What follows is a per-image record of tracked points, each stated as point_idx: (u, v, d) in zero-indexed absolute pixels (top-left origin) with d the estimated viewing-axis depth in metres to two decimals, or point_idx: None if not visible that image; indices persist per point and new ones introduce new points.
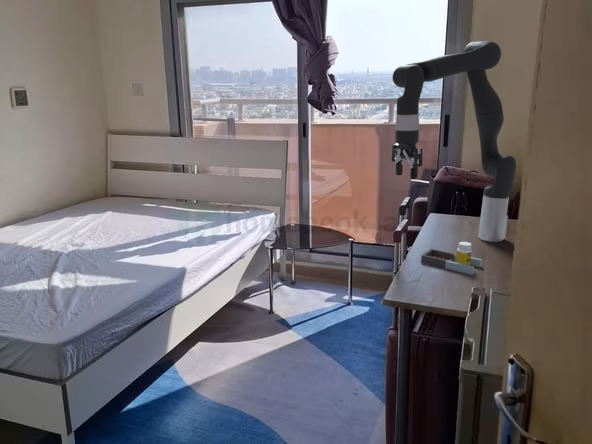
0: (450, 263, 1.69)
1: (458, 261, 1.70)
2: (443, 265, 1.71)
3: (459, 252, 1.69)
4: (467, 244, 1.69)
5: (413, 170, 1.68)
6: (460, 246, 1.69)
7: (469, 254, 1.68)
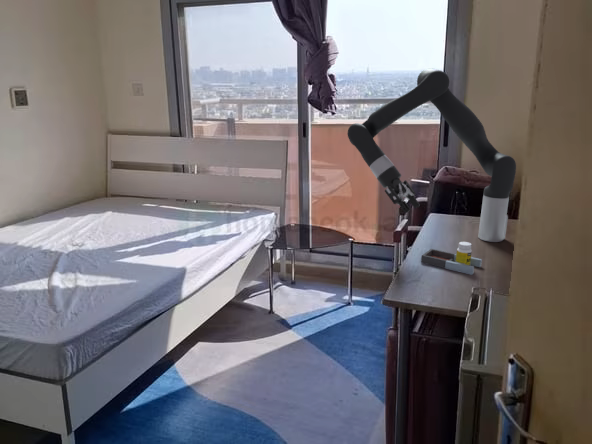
0: (450, 263, 1.69)
1: (458, 261, 1.70)
2: (443, 265, 1.71)
3: (459, 252, 1.69)
4: (467, 244, 1.69)
5: (400, 205, 1.75)
6: (460, 246, 1.69)
7: (469, 254, 1.68)
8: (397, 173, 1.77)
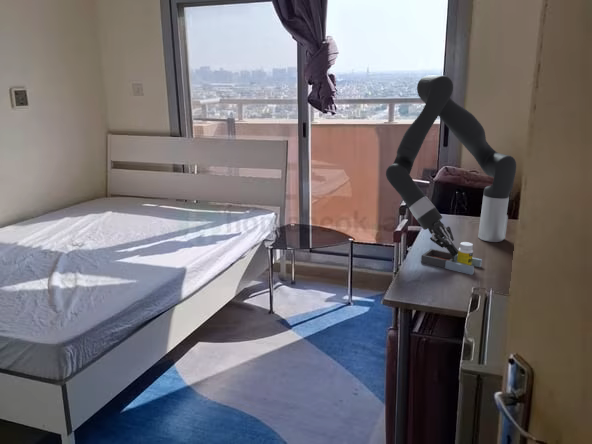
0: (450, 263, 1.69)
1: (460, 261, 1.69)
2: (443, 265, 1.71)
3: (461, 253, 1.68)
4: (468, 244, 1.68)
5: (448, 249, 1.72)
6: (462, 246, 1.68)
7: (471, 255, 1.68)
8: (438, 215, 1.72)
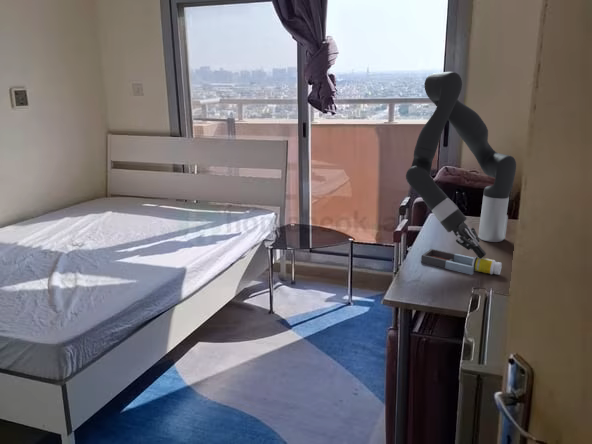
0: (450, 263, 1.69)
1: (479, 264, 1.66)
2: (443, 265, 1.71)
3: (489, 266, 1.64)
4: (499, 271, 1.64)
5: None
6: (496, 267, 1.63)
7: (488, 273, 1.66)
8: (463, 217, 1.67)
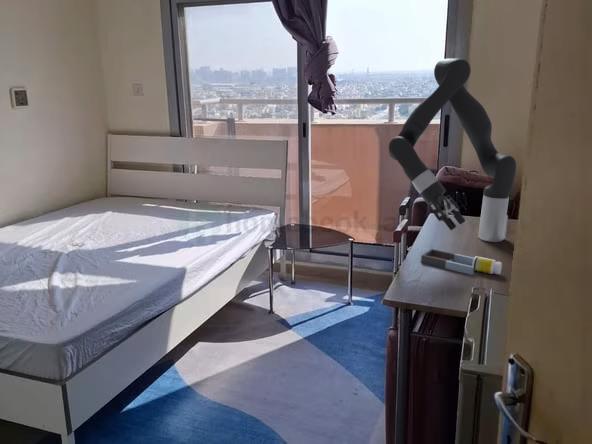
0: (450, 263, 1.69)
1: (480, 263, 1.66)
2: (443, 265, 1.71)
3: (489, 265, 1.64)
4: (499, 270, 1.65)
5: (445, 222, 1.66)
6: (497, 266, 1.63)
7: None
8: (442, 188, 1.69)
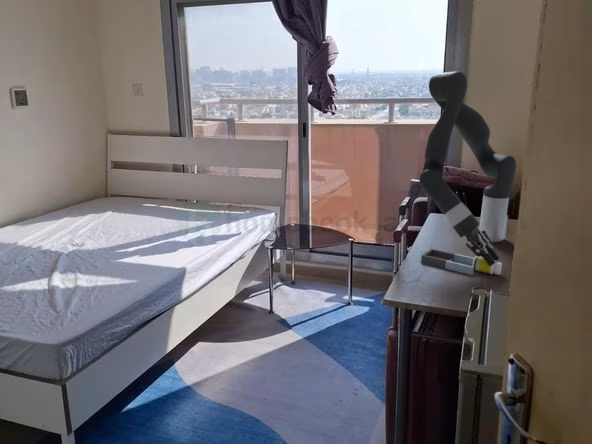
0: (450, 263, 1.69)
1: (480, 263, 1.66)
2: (443, 265, 1.71)
3: (490, 266, 1.64)
4: (499, 271, 1.65)
5: (484, 258, 1.64)
6: (497, 267, 1.63)
7: (488, 273, 1.66)
8: (476, 222, 1.65)
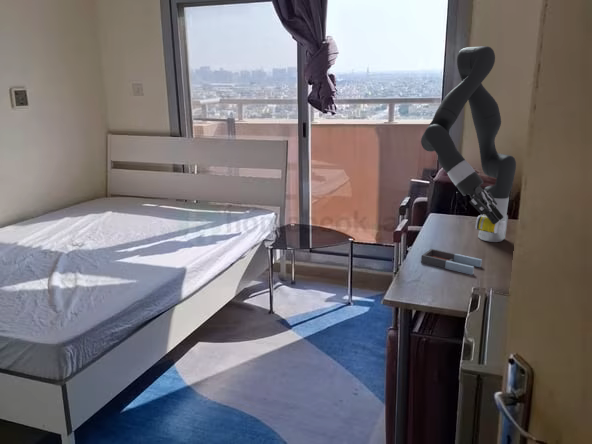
0: (450, 263, 1.69)
1: (483, 222, 1.62)
2: (443, 265, 1.71)
3: (493, 224, 1.60)
4: (503, 230, 1.61)
5: (488, 216, 1.60)
6: (501, 225, 1.59)
7: (492, 232, 1.62)
8: (480, 180, 1.61)
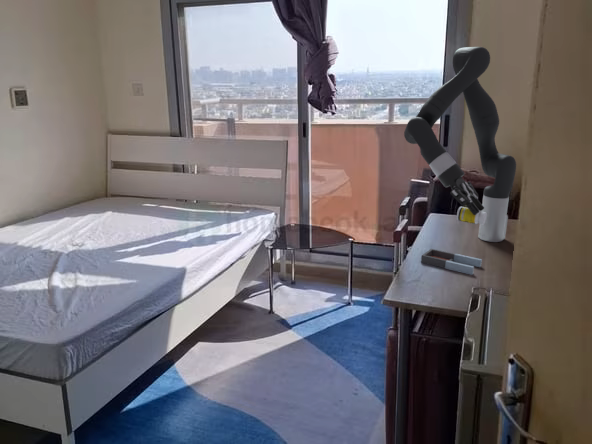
0: (450, 263, 1.69)
1: (464, 213, 1.65)
2: (443, 265, 1.71)
3: (474, 215, 1.63)
4: (484, 220, 1.64)
5: (468, 207, 1.63)
6: (481, 216, 1.62)
7: None
8: (461, 171, 1.64)
